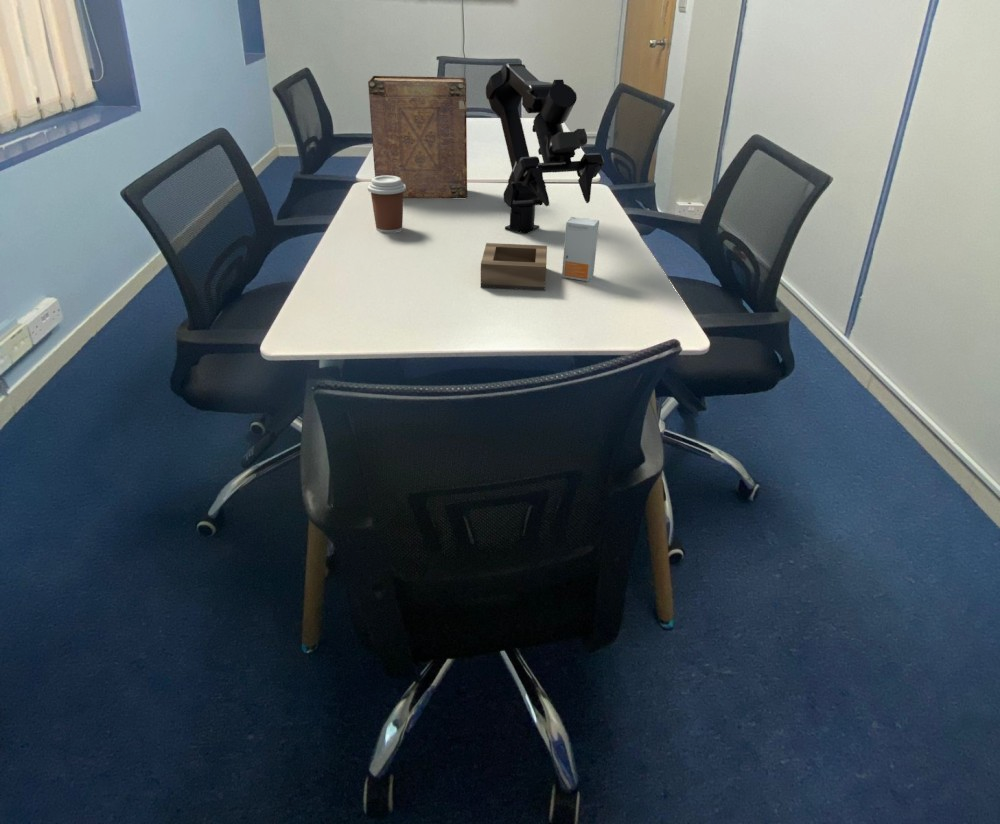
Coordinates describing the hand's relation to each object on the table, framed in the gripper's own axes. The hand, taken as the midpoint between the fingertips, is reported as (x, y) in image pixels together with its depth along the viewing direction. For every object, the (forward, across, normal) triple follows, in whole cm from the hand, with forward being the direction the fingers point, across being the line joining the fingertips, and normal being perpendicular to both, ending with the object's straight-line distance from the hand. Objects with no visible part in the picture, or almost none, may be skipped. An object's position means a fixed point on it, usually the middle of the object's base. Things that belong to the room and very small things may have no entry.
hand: (568, 203), depth 151 cm
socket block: (+12, -13, +7) cm, 19 cm away
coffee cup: (-15, -32, +34) cm, 49 cm away
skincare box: (+15, 0, +4) cm, 15 cm away
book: (-36, -16, +55) cm, 68 cm away
